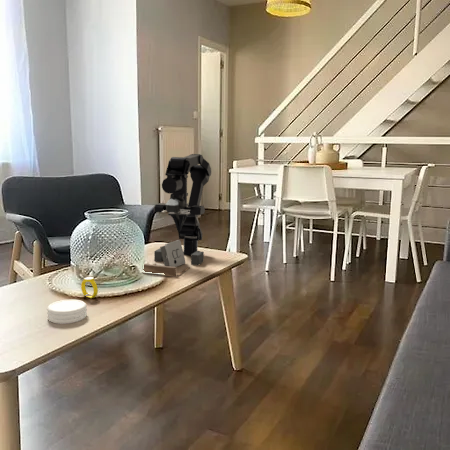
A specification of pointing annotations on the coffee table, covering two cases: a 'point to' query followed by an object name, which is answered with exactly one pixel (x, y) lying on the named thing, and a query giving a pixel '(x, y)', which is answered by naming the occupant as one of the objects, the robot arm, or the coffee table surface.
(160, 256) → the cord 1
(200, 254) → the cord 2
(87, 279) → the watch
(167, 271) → the bay
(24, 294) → the coffee table surface
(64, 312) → the coaster
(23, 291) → the coffee table surface
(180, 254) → the electrical switch
